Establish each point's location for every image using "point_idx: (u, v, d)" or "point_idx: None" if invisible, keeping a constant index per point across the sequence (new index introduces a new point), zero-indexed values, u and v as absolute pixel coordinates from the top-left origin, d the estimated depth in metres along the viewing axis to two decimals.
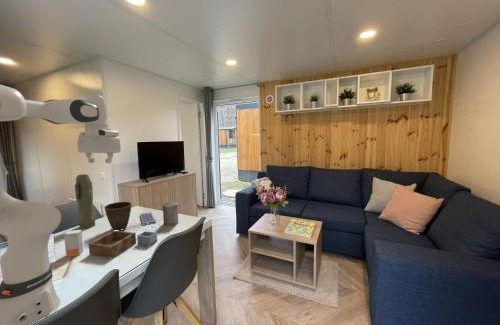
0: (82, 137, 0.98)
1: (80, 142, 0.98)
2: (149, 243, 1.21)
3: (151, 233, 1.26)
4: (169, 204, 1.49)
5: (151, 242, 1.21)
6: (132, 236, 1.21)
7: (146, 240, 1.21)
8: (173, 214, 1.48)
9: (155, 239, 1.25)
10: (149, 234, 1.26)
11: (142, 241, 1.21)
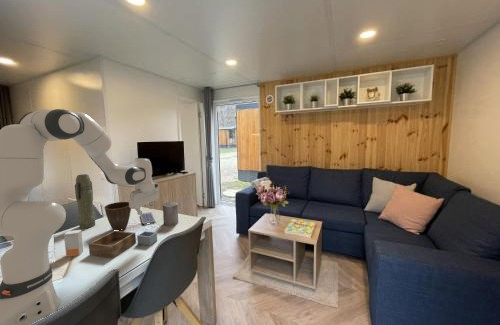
0: (138, 194, 1.14)
1: (137, 199, 1.13)
2: (149, 243, 1.21)
3: (151, 233, 1.26)
4: (169, 204, 1.49)
5: (151, 242, 1.21)
6: (132, 236, 1.21)
7: (146, 240, 1.21)
8: (173, 214, 1.48)
9: (155, 239, 1.25)
10: (149, 234, 1.26)
11: (142, 241, 1.21)
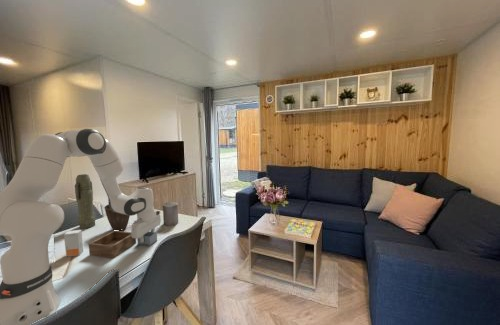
0: (140, 224, 1.16)
1: (139, 229, 1.15)
2: (149, 243, 1.21)
3: (151, 233, 1.26)
4: (169, 204, 1.49)
5: (151, 242, 1.21)
6: None
7: (146, 240, 1.21)
8: (173, 214, 1.48)
9: (155, 239, 1.25)
10: (149, 234, 1.26)
11: None
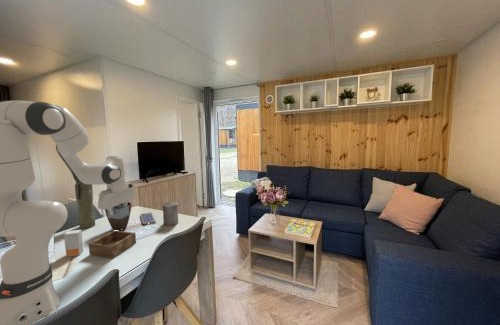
0: (109, 194, 1.09)
1: (107, 199, 1.07)
2: (119, 216, 1.13)
3: (123, 207, 1.18)
4: (169, 204, 1.49)
5: (121, 215, 1.13)
6: (132, 236, 1.21)
7: (116, 213, 1.13)
8: (173, 214, 1.48)
9: (126, 213, 1.17)
10: (121, 208, 1.19)
11: None
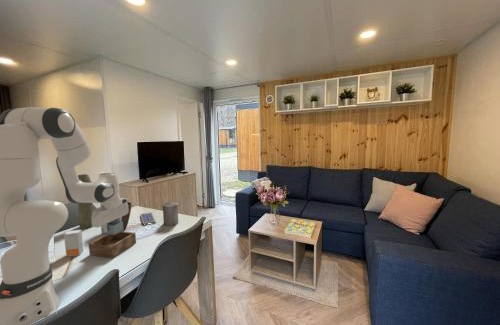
0: (102, 212, 1.08)
1: (100, 217, 1.07)
2: (113, 233, 1.13)
3: (117, 222, 1.18)
4: (169, 204, 1.49)
5: (115, 231, 1.14)
6: (132, 236, 1.21)
7: (110, 230, 1.13)
8: (173, 214, 1.48)
9: (120, 228, 1.17)
10: (115, 223, 1.19)
11: None
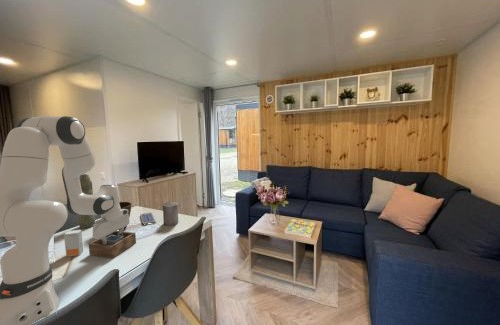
0: (103, 224, 1.09)
1: (101, 229, 1.08)
2: None
3: (118, 237, 1.19)
4: (169, 204, 1.49)
5: None
6: (132, 236, 1.21)
7: (111, 245, 1.14)
8: (173, 214, 1.48)
9: None
10: (116, 238, 1.19)
11: None
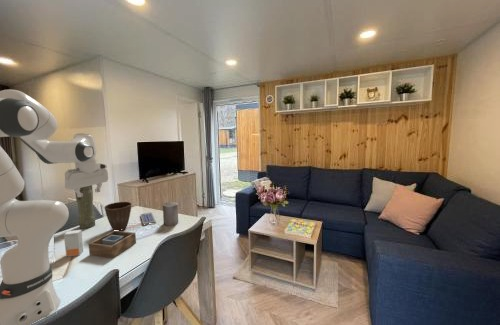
0: (77, 174, 1.01)
1: (74, 179, 1.00)
2: None
3: (118, 237, 1.19)
4: (169, 204, 1.49)
5: None
6: (132, 236, 1.21)
7: (111, 245, 1.14)
8: (173, 214, 1.48)
9: None
10: (116, 238, 1.19)
11: None
